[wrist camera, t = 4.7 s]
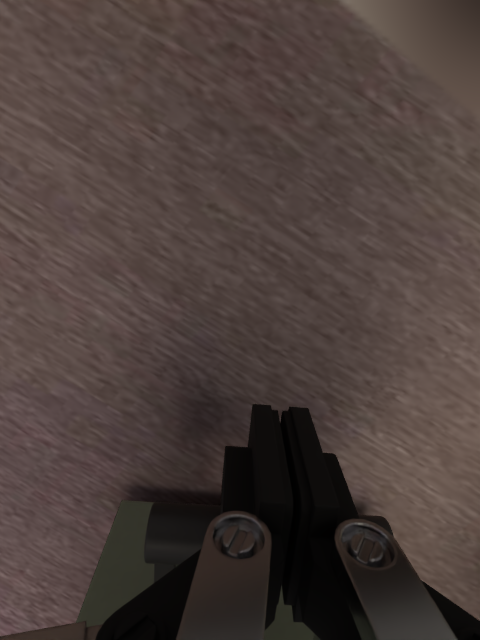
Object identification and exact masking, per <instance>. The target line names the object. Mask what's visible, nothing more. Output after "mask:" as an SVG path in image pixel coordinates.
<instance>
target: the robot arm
mask: <svg viewBox="0 0 480 640" xmlns="http://www.w3.org/2000/svg"><path fill="white" fill-rule="evenodd" d="M281 585H282V593H283V601H284V604H285V605H291V606H292V614H293V622H302V623H304V624H305V625H306V626H307V627H308V628H309V629H310V630H311V631H312V632H313V633H314V637H313V640H480V621H479V620H477V619H476V618H474V617H473V616H472V615H470V614H469V613H467V612H466V611H464V610H463V609H462V608H460V607H459V606H457V605H456V604H454V603H453V602H452V601H450V600H449V599H447V598H446V597H444V596H443V595H442V594H440V593H439V592H437V591H436V590H435V589H433V588H432V587H430V586H429V585H427V584H426V583H425V582H423V581H422V580H420V578H419V576H418V575H417V573H416V571H415V570H414V568H413V567H412V565H411V563H410V562H409V560H408V559H407V557H406V555H405V554H404V552H403V550H402V549H401V547H400V546H399V544H398V542H397V541H396V540H395V539H394V537H393V536H392V535H391V534H390V533H389V532H388V531H386V530H385V529H384V528H383V527H381V526H379V525H377V524H375V523H373V522H370V521H367V520H364V519H359V516H358V513H357V511H356V508H355V505H354V502H353V500H352V497H351V494H350V492H349V489H348V486H347V483H346V481H345V478H344V475H343V473H342V470H341V467H340V465H339V462H338V459H337V457H336V455H335V454H332V453H323V452H322V449H321V446H320V443H319V440H318V437H317V434H316V431H315V427H314V424H313V421H312V418H311V415H310V412H309V409H308V408H300V407H289V410H288V411H282V415H281V422H280V420H279V415H278V411H277V410H272V408H271V405H261V404H253V406H252V414H251V423H250V432H249V441H248V447H235V446H225V456H224V467H223V479H222V493H221V510H220V515H218V516H216V517H215V518H214V519H213V520H212V521H211V522H210V524H209V526H208V528H207V531H206V534H205V538H204V541H203V545H202V548H201V549H200V550H199V551H197V552H196V553H194V554H193V555H192V556H190V557H189V558H188V559H186V560H185V561H183V562H182V563H181V564H179V565H178V566H177V567H175V568H174V569H173V570H171V571H170V572H168V573H167V574H166V575H164V576H163V577H162V578H160V579H159V580H158V581H156V582H155V583H153V584H152V585H151V586H149V587H148V588H147V589H145V590H144V591H142V592H141V593H140V594H138V595H137V596H136V597H134V598H133V599H132V600H130V601H129V602H127V603H126V604H125V605H123V606H122V607H121V608H119V609H118V610H117V611H115V612H114V613H113V614H112V615H111V616H110V617H109V618H108V619H107V620H106V621H105V622H104V623H103V624H101V625H95V626H90V627H87V623H86V621H83V622H77V623H72V624H66V625H61V626H55V627H50V628H44V629H39V630H33V631H28V632H22V633H17V634H11V635H6V636H0V640H264V632H265V630H266V629H267V628H268V627H269V626H270V625H271V624H272V622H273V621H274V620H275V614H276V608H277V605H278V603H279V598H280V591H281Z"/></svg>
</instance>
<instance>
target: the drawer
mask: <svg viewBox="0 0 480 640" xmlns="http://www.w3.org/2000/svg"><path fill="white" fill-rule="evenodd" d="M220 510H221V506H218V505H202V504H187V503H172V502H157V501H156V502H143V501H128V500H122V501H121V504H120V506H119V509H118V512H117V514H116V517H115V520H114V522H113V525H112V528H111V530H110V533H109V536H108V538H107V541H106V544H105V546H104V549H103V552H102V554H101V557H100V560H99V562H98V565H97V568H96V570H95V573H94V576H93V578H92V581H91V584H90V586H89V589H88V592H87V594H86V597H85V600H84V602H83V605H82V608H81V610H80V613H79V616H78V618H77V621H76V623H77V622H83V621H86V623H87V627H90V626H95V625H101V624H103V623H104V622H105V621H106V620H107V619H108V618H109V617H110V616H111V615H112V614H113V613H114V612H115V611H117V610H118V609H119V608H121V607H122V606H123V605H125V604H126V603H127V602H129V601H130V600H132V599H133V598H134V597H136V596H137V595H138V594H140V593H141V592H142V591H144V590H145V589H147V588H148V587H149V586H151V585H152V584H153V583H155V582H156V581H158V580H159V579H160V578H162V577H163V576H164V575H166V574H167V573H168V572H170V571H171V570H173V569H174V568H175V567H177V566H178V565H179V564H181V563H182V562H183V561H185V560H186V559H188V558H189V557H190V556H192V555H193V554H194V553H196V552H197V551H199V550H200V549H201V548H202V545H203V541H204V538H205V534H206V531H207V528H208V526H209V524H210V522H211V521H212V520H213V519H214V518H215V517H216V516H218V515H220ZM358 516H359V519H364V520H367V521H370V522H373V523H375V524H377V525H379V526H381V527H383V528H384V529H385V530H386V531H388V532H389V533H390V534H391V535H392V536H393V533H392V530H391V527H390V525H389V523H388V521H387V520H386V519H385V518H384V517H382V516H370V515H358ZM313 637H314V633H313V632H312V631H311V630H310V629H309V628H308V627H307V626H306V625H305V624H304V623H302V622H293V614H292V606H291V605H285V604H284V601H283V593H282V585H281V591H280V598H279V603H278V605H277V608H276V614H275V620H274V621H273V622H272V624H271V625H270V626H269V627H268V628H267V629H266V630H265V632H264V640H313Z"/></svg>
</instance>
